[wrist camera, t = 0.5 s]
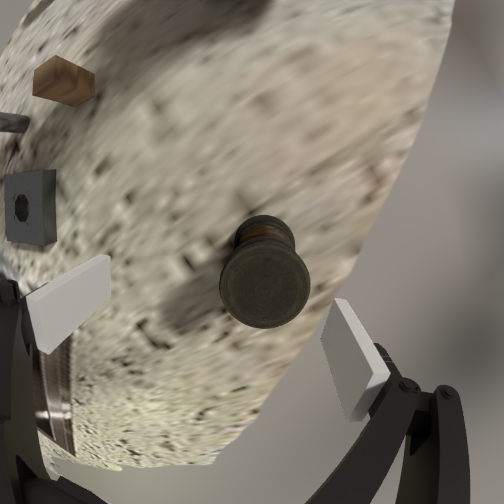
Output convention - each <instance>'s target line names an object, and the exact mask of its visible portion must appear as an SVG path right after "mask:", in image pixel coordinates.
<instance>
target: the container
mask: <svg viewBox="0 0 504 504" xmlns="http://www.w3.org/2000/svg"><path fill="white" fill-rule="evenodd" d="M219 289H220V295H221V298H222V301H223V303H224V305H225V307H226V309H227V310H228V311H229V313H230V314H231V315H232V316H233V317H234V318H236V319H237V320H238V321H240V322H242V323H243V324H245V325H248V326H251V327H254V328H261V329H269V328H275V327H279V326H281V325H284V324H286V323H288V322H289V321H291V320H292V319H294V318H295V317H296V316H297V315H298V314H299V313H300V312H301V310H302V309H303V308H304V306H305V304H306V302H307V300H308V297H309V293H310V276H309V272H308V270H307V267H306V265H305V263H304V262H303V260H302V259H301V258H300V257H299V256H298V255H297V253H296V252H295V240H294V236H293V234H292V232H291V230H290V228H289V227H288V226H287V225H286V224H285V223H284V222H283V221H281V220H280V219H278V218H276V217H273V216H269V215H259V216H254V217H252V218H250V219H248V220H246V221H245V222H244V223H243V224H242V225H241V226H240V227H239V229H238V231H237V233H236V236H235V240H234V252H233V253H232V255H231V257H230V258H229V260H228V261H227V262H226V264H225V266H224V268H223V270H222V272H221V276H220V282H219Z"/></svg>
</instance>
